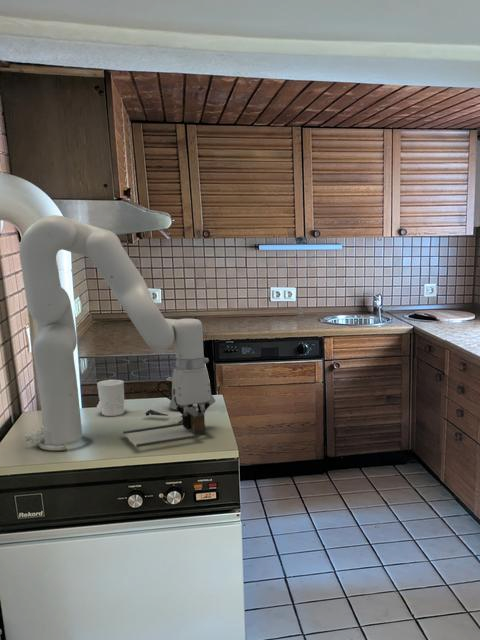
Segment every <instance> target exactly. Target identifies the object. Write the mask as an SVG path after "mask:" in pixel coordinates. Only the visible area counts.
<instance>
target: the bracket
mask: <svg viewBox="0 0 480 640" xmlns="http://www.w3.org/2000/svg"><path fill="white" fill-rule="evenodd" d="M196 410H197V411H198V409H196ZM150 415H151V416H163V417H164V416H165V417H168V416H169V414H168V413H162V412H158V411H156V410H153V409H149V410H146V413H145V416H146V417H148V416H150ZM179 418H182V415H181V416H180V417H179ZM177 423H183V419H181V420H179V421H178V422H177Z"/></svg>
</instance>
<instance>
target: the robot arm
mask: <svg viewBox="0 0 480 640" xmlns="http://www.w3.org/2000/svg"><path fill="white" fill-rule="evenodd" d="M62 250H63V251H66V252H68V253H72V254H76V255H80V256H83V257H86V258H89V259H90V260H91V261H92V263H93V265H94V266H95V267H96V269H97V270H98V272H99V273H100V275H101V276H102V278H103V279H104V281H105V282H106V284H107V285H108V287H109V288H110V290H111V291H112V293H113V294H114V296H115V298H116V300H117V301H118V303H119V304H120V306H121V307H122V308H123V310H124V311H125V313H126V315H127V316H128V318H129V319H130V321H131V323H132V324H133V326H134V327H135V328H136V330H137V331H138V333H139V334H140V336H141V337H142V339H143V340H144V342H145V344H147V346H149V347H150V348H151V349H153V350H155V351H165V350H167V349H169V348H170V347H171V346H172V345H173V344H174V346H175V347H174V348H175V349H174V351H175V364H176V367H175V368H173V370H172V376H171V377H172V400H170V402H169V404H168V407H169V408H170V409H171V410H173V409H175V410H177V411H176V412H179V413H180V414H181V416H182V417H181V420H183V422H182V423H183V426H185V428H187V429H190V416H189V415H188V405H191V404H193V405H196V406H197V410H198V411H199V412H200V413H202V414H203V415H204V416H205V413H206V411H207V410H208V409H209V408H210V406H212V405H213V404H215V403H216V399H215V397H214V396H213V394H212V389H211V382H210V377H209V372H208V368H207V366H206V364H207V363H209V362H210V360H209V358H208V357H205V356H204V353H205V352H204V333H203V324H202V322H201V320H200V319H197V318H190V317H189V318H178V319H177V318H175V319H174V318H165V317H164V315H163V314H162V312H161V311H160V309H159V308H158V306H157V304H156V302H155V301H154V299H153V297H152V295H151V292H150V290H149V288H148V284H147V283H146V281H145V279H144V277H143V275H142V274H141V273H140V271H139V270H138V268H137V267H136V265H135V264H134V262H133V261H132V259H131V258H130V256H129V255H128V253H127V251H126V250H125V248H124V247H123V245H122V243H121V240H120V238H119V237H118V235H117V234H116V233H115V232H113V231H112V230H109V229H105V228H102V227H97V226H94V225H91V224H88V223H85V222H82V221H79V220H76V219H73V218H70V217H67V216H63V215H57V214H56V215H55V214H53V215H51V214H50V215H47V216H44V217H41V218H39V219H38V220H36V221H35V222H33V223H32V224H31V225H30V226H28V228H26V230H25V232H24V233H23V235H22V237H21V239H20V243H19V261H20V267H21V273H22V274H21V275H22V281H23V286H24V287H23V288H24V291H25V292H24V293H25V298H26V305H27V310H28V312H29V314H30V316H31V317H32V318H33V319H34V320H35V323H36V328H37V332H38V334H37V335H36V336H35V337H34V340H33V343H32V356H33V357H32V358H33V361H34V367H35V372H36V378H37V386H38V387H37V388H38V393H39V402H40V410H41V420H42V427H41V428H40V430H39V431H37V432H33V433H31V432H30V433H25V434H24V439H25V442H31V443H37V442H38V447H39V448H40V449H41V450H46V451H54V452H55V451H56V452H57V451H67V450H68V449H67V447H66V446H65V445H67V444H72V443H76V442H79V441H81V440H82V439H83V437H84V436H83V428H82V418H81V417H82V415H81V408H80V407H81V406H80V397H79V388H78V379H77V369H76V365H75V364H76V363H75V356H74V352H75V350H76V348H77V344H78V338H77V331H76V326H75V320H74V314H73V308H72V303H71V299H70V296H69V294H68V292H67V291H66V290H65V289H64V287H62V285H61V279H60V271H59V268H58V262H57V255H58V253H59V251H62ZM176 403H177V404H178V405H181V407H180V406H177V405H176Z"/></svg>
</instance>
